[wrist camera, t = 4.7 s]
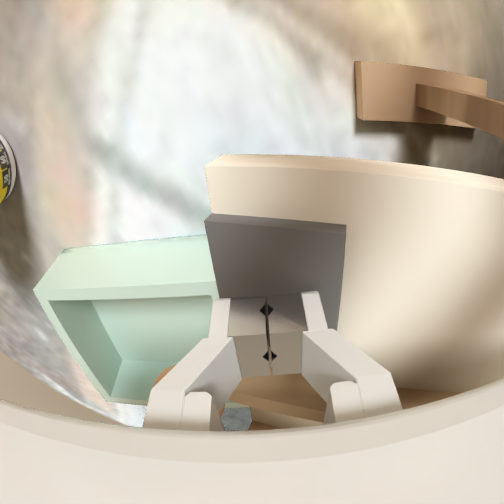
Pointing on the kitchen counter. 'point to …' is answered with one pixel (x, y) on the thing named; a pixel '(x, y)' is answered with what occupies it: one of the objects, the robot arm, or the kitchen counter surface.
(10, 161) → the supplement bottle
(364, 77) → the lever stand
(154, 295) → the green square tray
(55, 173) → the kitchen counter surface
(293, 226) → the lever
